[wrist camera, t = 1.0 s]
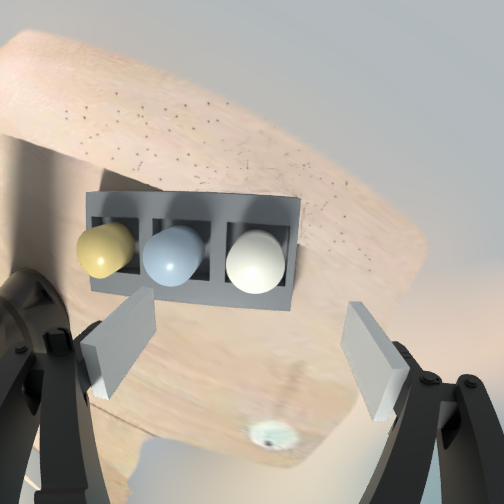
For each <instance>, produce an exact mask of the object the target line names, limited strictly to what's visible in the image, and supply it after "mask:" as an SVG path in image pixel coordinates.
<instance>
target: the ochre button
mask: <svg viewBox="0 0 504 504" xmlns="http://www.w3.org/2000/svg"><path fill="white" fill-rule="evenodd" d="M76 250H77V258H78V261H79V263H80V265H81V267H82V268H83V270H84V271H85V272H86V273H87V274H89V275H90V276H92V277H94V278H100V279H101V278H106V277H108V276H109V275H111V274H112V273H114V272H116V271H117V270H119V269H120V268H122V267H124V266H125V265H127V264H128V263H129V262H130V261H131V260H132V258H133V256H134V253H135V240H134V237H133V235H132V233H131V232H130V230H129V229H128V228H127V227H126V226H125V225H123V224H121V223H118V222H111V223H107V224H104V225H100V226H97V227H94V228H91V229H88V230H86V231H84V232H83V233H82V234H81V236H80V237H79V239H78V242H77V249H76Z"/></svg>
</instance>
